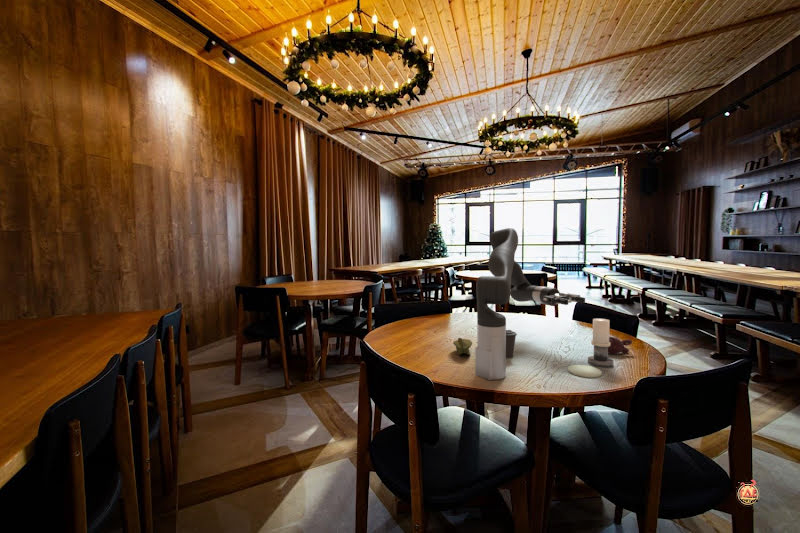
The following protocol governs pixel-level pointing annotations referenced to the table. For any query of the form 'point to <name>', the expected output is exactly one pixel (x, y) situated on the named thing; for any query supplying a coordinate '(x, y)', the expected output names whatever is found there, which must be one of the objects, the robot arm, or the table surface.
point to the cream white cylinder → (601, 332)
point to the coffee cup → (510, 343)
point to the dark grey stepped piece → (600, 357)
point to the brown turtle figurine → (618, 345)
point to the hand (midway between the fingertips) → (576, 301)
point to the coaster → (584, 371)
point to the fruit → (462, 346)
